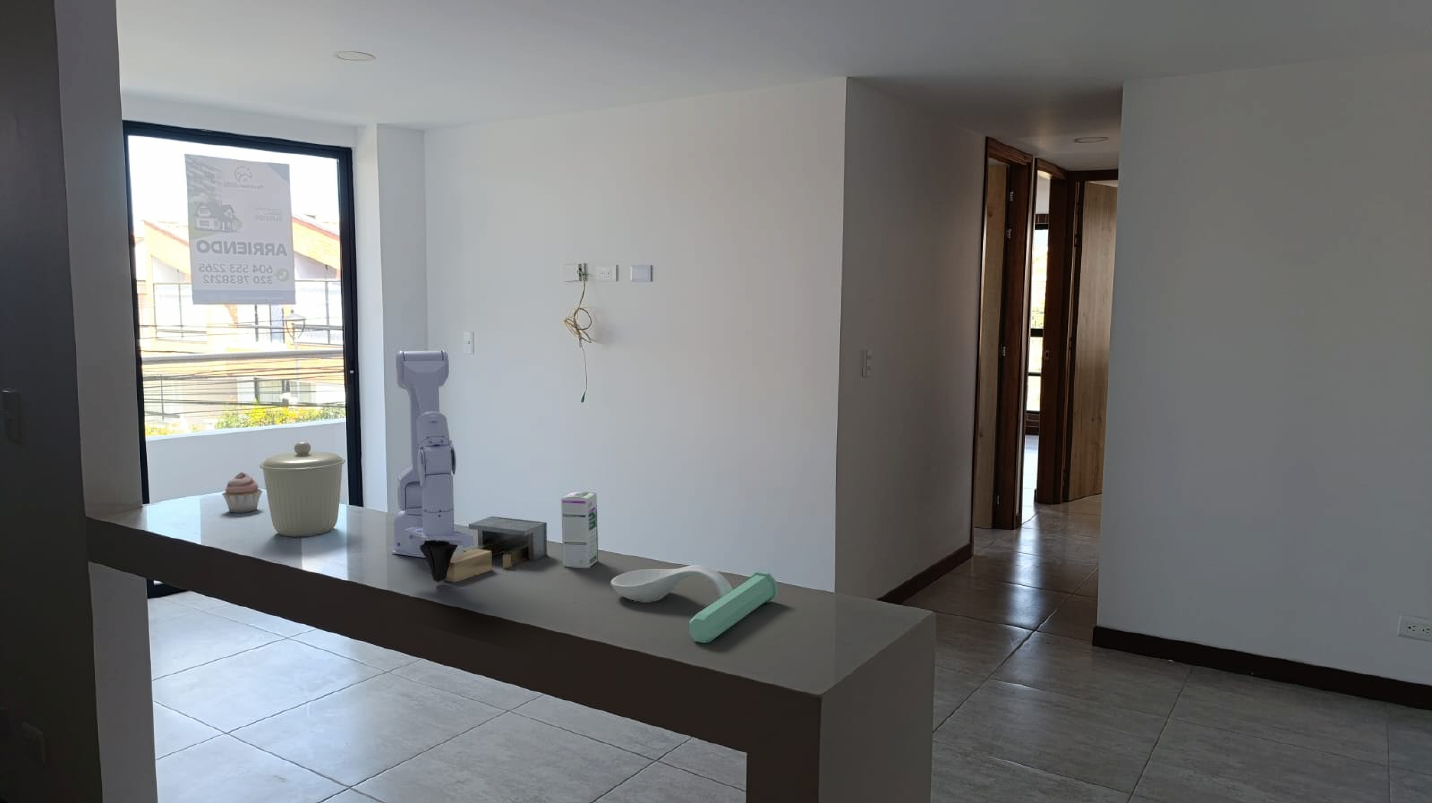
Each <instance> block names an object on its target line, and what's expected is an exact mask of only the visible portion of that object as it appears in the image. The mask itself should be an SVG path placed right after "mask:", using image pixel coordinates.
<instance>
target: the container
mask: <svg viewBox="0 0 1432 803" xmlns="http://www.w3.org/2000/svg"><path fill="white" fill-rule="evenodd" d="M777 596H778V581H777V580H775V577H773V575H772V574H771V572H766V571H759V570H758V571H756V572H754V573H753V574H752V575H751V576H750V577H749V578H748V579H747V580H746V581H745V582H743V583H742V584H739V586H737V587H736V588H734V589H733V591H731V592H729V593H728V594H726V595H725V596H723V597H722V598H720V599H717V600H716V601H714V602H713V603H711V604H709V605H708V606H706V607H705V608H703V609H702V610H700V611H698V612H697V613H696V614H695V615H694V616H693V617H692V618H691V619H690V620H689V623H688V633H689V635H690V636H691V638H692V639H693V640H694V642H696V643H697V642H698V643H703V644H707V643H708V642H709V643H711V642H712V641H713V640H714V639H716V638H718V637H719V636H720V635H721V634H723V633H724V632H726V631H727V630H729V629H730V628H731V627H732V626H734V625H736V624H737V623H738V622H740V621H741V620H742V619H744V618H745V617H746V616H748V615H749V614H751V613H752V612H753V611H755V610H756V609H757V608H760V606H762V605H763V604H764V603H770V602H771V601H772V600H773V599H775V597H777Z"/></svg>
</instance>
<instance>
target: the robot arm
mask: <svg viewBox="0 0 1432 803" xmlns="http://www.w3.org/2000/svg"><path fill="white" fill-rule="evenodd" d="M395 360H396V361H395V364H396V365H395V367H396V384H397V386H398V388H400V389H403V390H406V391H407V394H408V397H409V416H410V417H409V419H410V424H409V425H410V453H411V454H410V457H411V458H410V461H411V464H410V466H408V467H407V468H406V469H405V470H403V471H402V472H400V473H399V476H398V478H397V504H398V508H399V510H400V511H399V512H397V514H396V515H395V518H394V520H393V545H394V550H391V554H396V555H404V556H408V557H417V558H423V559H426V562H427V563H428V566H429V569H430V572H431V575H432V576H431V577H432V580H433V581H434V582H441V581H445V580H444V579H446V576H447V572H448V568H449V564H450V561H451V558H452V556H454V555H455V552H456V550H457V548H458V546H462V547H463V548H469V547H471V546H473V545H474V534H469V533H465V532H462V531H460V530H457V529H455V509H454V508H455V505H454V504H455V503H454V502H455V500H454V498H455V497H454V476H455V474H456V469H457V456H456V455H457V454H456V450H455V447H454V444H453V441H452V440H451V439H450V432H449V427H448V426H449V425H448V418H447V417H446V416H445V415H444V414H443V413H441V412H440V391H439V390H440V388H441V387H444V385H445V383H446V382H447V380H448V379H449V374H450V366H449V364H450V362H449V355H448V353H447V351H446V350H445V349H441V350H416V351H415V350H413V351H411V350H410V351H409V350H408V351H407V350H405V351H403V350H399V351H398V352H397V353H396V356H395Z"/></svg>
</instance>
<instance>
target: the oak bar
mask: <svg viewBox="0 0 1432 803" xmlns="http://www.w3.org/2000/svg"><path fill="white" fill-rule="evenodd" d="M492 557H493V556H491V551H487V550H482V549H474V550H471V551H467V552H464V553H463V552H461V553H457V554H453V556H452V558H451V561H450V564H449V568H448V572H447V576H446V579H444V580H443V581H446V580H449V581H448V582H450V581H453V582H452V583H457V582H460V581H463V580H466V579H468V578H472V577H474V575H475V576H477V575H481V574H484V573H486V572H488V571H492V569H493V568H492V566H493V564H492V563H493V562H492ZM483 572H484V573H483ZM480 573H481V574H480ZM459 580H460V581H459ZM456 581H457V582H456Z"/></svg>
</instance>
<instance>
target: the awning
mask: <svg viewBox="0 0 1432 803" xmlns="http://www.w3.org/2000/svg"><path fill="white" fill-rule="evenodd" d="M547 524H548V523H547V521H546V522H544V521H539V520H538V521H536V520H527V519H519V518H510V517H504V516H503V517H501V516H500V517H499V516H487V517H486V518H482V519H480V520H478V521H474V522H471V523H468V530H473V531H474V530H475V531H477V547H475V548H468V549H463V551H462V553H464V552H467V551H471V550H474V549H482V550H487V551H491V557H494V556H497V555H498V554H499V555H500V553H503V552H504V553H503V555H502V569H512V567H513V565H514V564H517V563H519V562H521V561H524V560H526V559H528V561H532V562H534V561H537V560H539V559H542V558H543V557H545V556H547V555H548V525H547ZM493 555H494V556H493Z"/></svg>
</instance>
